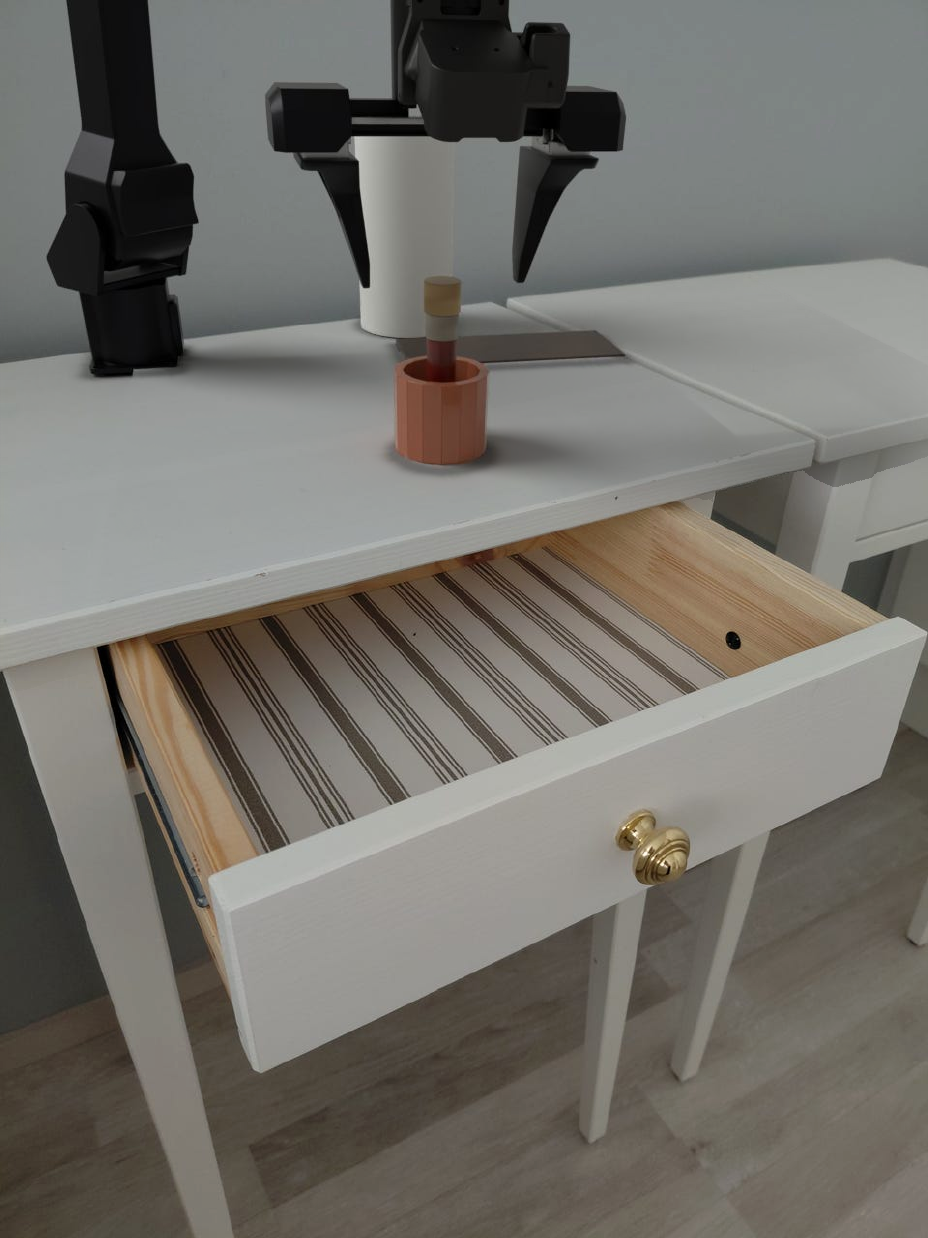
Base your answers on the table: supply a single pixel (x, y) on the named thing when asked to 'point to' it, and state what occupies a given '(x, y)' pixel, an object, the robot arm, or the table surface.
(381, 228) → the cup
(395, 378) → the pot
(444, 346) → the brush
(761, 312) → the table surface
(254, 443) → the table surface
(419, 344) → the mat
